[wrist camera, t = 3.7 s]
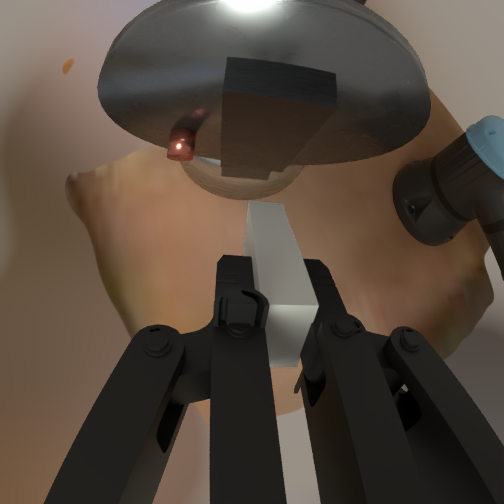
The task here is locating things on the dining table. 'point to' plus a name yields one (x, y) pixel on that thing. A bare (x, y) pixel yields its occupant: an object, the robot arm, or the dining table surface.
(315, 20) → the cooker lid
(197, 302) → the dining table surface
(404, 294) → the dining table surface
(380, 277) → the dining table surface
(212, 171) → the cooker pot
